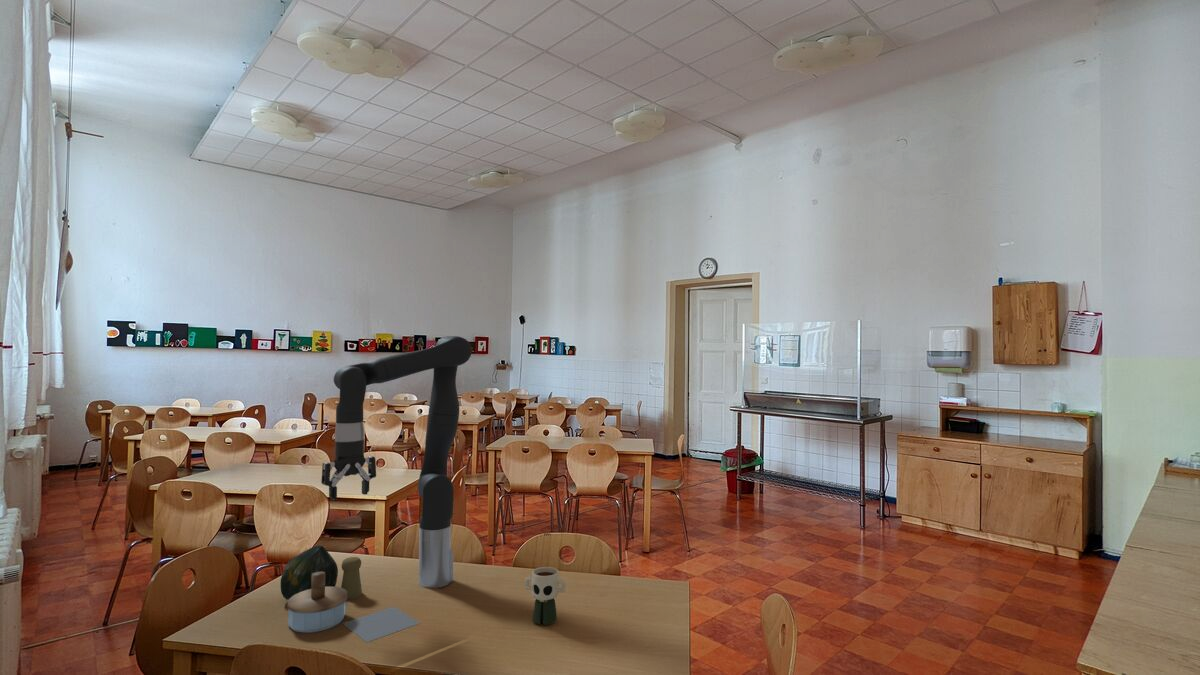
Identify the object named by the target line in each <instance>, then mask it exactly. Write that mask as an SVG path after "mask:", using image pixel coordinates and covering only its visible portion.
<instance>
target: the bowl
mask: <svg viewBox="0 0 1200 675" xmlns="http://www.w3.org/2000/svg"><path fill="white" fill-rule="evenodd" d="M346 601H347V600H346ZM346 601H345V602H344V603H342V604H341V605H339V606H337V607H335V608H332V609H329V610H325V611H321V612H315V613H296V612H292V611H290V610H289V609H288V608H287V609H288V610H287V625H288V626H289V627H290V629H291V630H292V631H294V632H297V633H306V634H307V633H317V632H321V631H325V630H328V629H331V628H333V627H335V626H337V625H339V624H340V623H341V622H342V621H343V620H344V619H345V615H346Z"/></svg>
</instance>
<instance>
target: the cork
mask: <svg viewBox="0 0 1200 675" xmlns="http://www.w3.org/2000/svg"><path fill="white" fill-rule="evenodd" d="M361 566H362V560H361V558H360V557H357V556H349V557H346V558H344V559H343V561H342V562H341V570H342V571H343V573H342V577H341V578H342V579H341V587H340V588H343V589H345V590H346V591H347V600H353V599H354V600H355V599H357V598H359V597H361V596H362V594H363V588H362V584H361V582H362V580H361V575H360V568H361Z"/></svg>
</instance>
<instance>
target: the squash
mask: <svg viewBox="0 0 1200 675" xmlns="http://www.w3.org/2000/svg"><path fill="white" fill-rule="evenodd" d="M315 572H325V587H336V585H337V582H338V581H337V580H338V575H339V568H338V565H337V562H336V560H335V559H334V558H333V556H332V555H331V554H330V553H329V551H328V550H327V549H326V547H325V546H323V545H321V544H317V545H315V546H313V547H310V548H308V549H306V550H304V551H303V552H301V553H299V554H298V555H296V556H294V557H292V558H291V559H290V560H289V561H288V562H287V563H286V566H285V567H284V569H283V572H282V575H281V577H280V592H281V595H282V596H283V598H285V599H286V600H287V601H288V600H289V599H290V598H291V597H292V596H293V595H295V594H297V593H299V592H302V591H305V590H308V589H311V580H312V574H313V573H315Z"/></svg>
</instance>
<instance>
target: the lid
mask: <svg viewBox="0 0 1200 675" xmlns="http://www.w3.org/2000/svg"><path fill="white" fill-rule="evenodd" d="M347 600H348V599H347V591H346V590H345V589H343V588H341V587H340V586H335V587H325V572H315V573H313V574H312V580H311V589H308V590H305V591H302V592H299V593H297V594H295V595H293V596H292V597H291V598H290V599H289V600H287V606H286V607H287V609H289V610H290V611H292V612H296V613H315V612H321V611H325V610H329V609H332V608H335V607H337V606H339V605H341V604H342V603H344V602H345V601H347Z"/></svg>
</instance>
